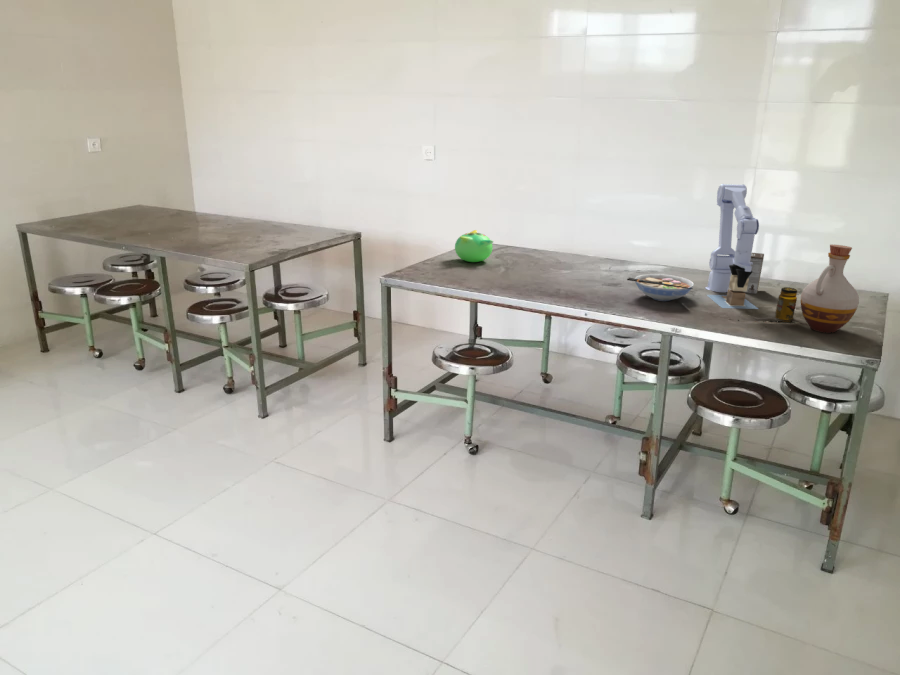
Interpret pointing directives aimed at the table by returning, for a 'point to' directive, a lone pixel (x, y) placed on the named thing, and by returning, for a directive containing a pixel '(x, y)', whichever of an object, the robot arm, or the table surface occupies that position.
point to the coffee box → (755, 272)
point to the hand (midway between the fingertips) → (737, 285)
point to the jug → (830, 295)
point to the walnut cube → (735, 298)
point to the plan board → (723, 304)
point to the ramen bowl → (663, 286)
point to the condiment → (786, 305)
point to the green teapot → (473, 247)
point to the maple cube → (734, 284)
